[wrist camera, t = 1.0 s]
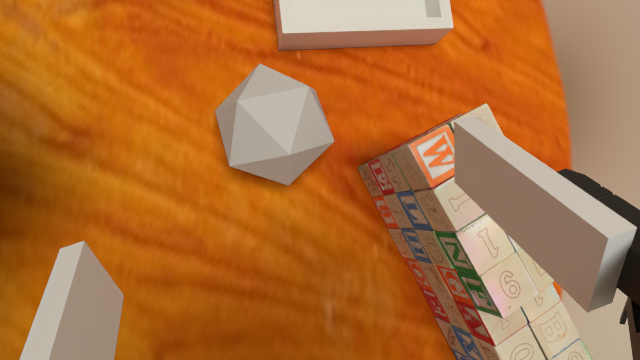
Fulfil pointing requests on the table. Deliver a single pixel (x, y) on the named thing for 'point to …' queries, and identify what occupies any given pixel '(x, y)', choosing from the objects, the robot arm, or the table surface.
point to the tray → (360, 23)
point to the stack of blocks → (467, 256)
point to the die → (273, 126)
